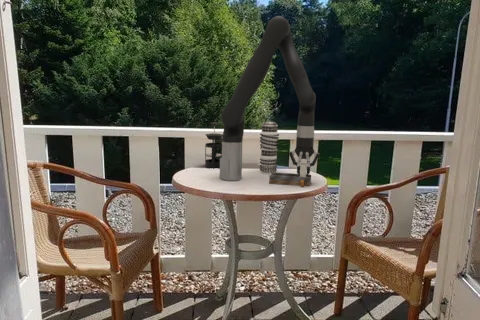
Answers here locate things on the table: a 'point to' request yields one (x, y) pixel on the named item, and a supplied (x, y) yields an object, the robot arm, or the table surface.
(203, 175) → the table surface
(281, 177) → the slider track
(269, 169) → the decorative candle
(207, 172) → the table surface
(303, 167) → the slider tab
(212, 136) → the french press
